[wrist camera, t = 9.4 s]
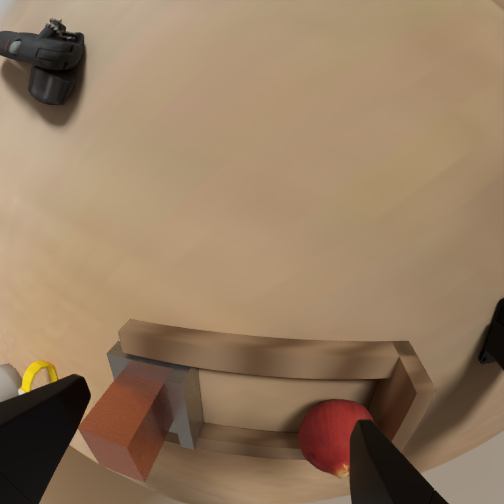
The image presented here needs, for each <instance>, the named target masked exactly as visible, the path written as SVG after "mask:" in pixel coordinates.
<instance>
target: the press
mask: <svg viewBox="0 0 504 504" xmlns="http://www.w3.org/2000/svg"><path fill="white" fill-rule="evenodd" d="M107 356H108V360H109V363H110V367H111V370H112V373H113V377H114V382H113V383H112V384H111V385H110V387H109V388H108V389H107V390H106V392H105V393H104V394H103V396H102V397H101V398H100V399H99V401H98V402H97V403H96V405H95V406H94V407H93V408H92V410H91V411H90V412H89V414H88V415H87V416H86V417H85V419H84V420H83V421H82V423H81V424H80V425H79V427H78V429H79V431H80V433H81V434H82V436H83V438H84V440H85V441H86V443H87V445H88V446H89V448H90V450H91V451H92V453H93V454H94V456H95V457H96V459H97V461H98V462H99V464H100V465H102V466H104V467H107V468H109V469H111V470H114V471H116V472H119V473H121V474H124V475H127V476H129V477H132V478H135V479H138V480H140V481H143V482H145V481H146V478H147V476H148V474H149V472H150V470H151V468H152V466H153V464H154V461H155V459H156V457H157V455H158V453H159V451H160V449H161V447H162V444H163V442H164V440H165V438H166V436H167V434H168V432H173V433H177V434H178V437H179V441H180V445H181V447H183V448H187V449H192V450H194V449H195V446H196V444H197V441H198V438H199V435H200V432H201V430H202V427H203V424H204V420H203V413H202V405H201V396H200V387H199V378H198V368H197V367H192V366H186V365H180V364H174V363H169V362H164V361H159V360H154V359H150V358H145V357H140V356H136V355H132V354H128V353H123V351H122V347H121V342H120V341H118V342H117V343H116V344H115V345H114V346H113V347H112V348H111V349H110V350H109V352H108V353H107Z"/></svg>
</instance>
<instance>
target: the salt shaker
mask: <svg viewBox="0 0 504 504" xmlns="http://www.w3.org/2000/svg"><path fill="white" fill-rule="evenodd" d="M20 387H22V378H21V376H20V375H19V373H18V372H17V370H16V369H15V368H14V367H12V366H11V365H10V364H3V365H0V402H2V401H5V400H7V399H10V398H13V397H16V396H18V395H19V393H18V389H19V388H20Z"/></svg>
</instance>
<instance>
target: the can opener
mask: <svg viewBox="0 0 504 504" xmlns="http://www.w3.org/2000/svg"><path fill="white" fill-rule="evenodd" d="M61 21H62V19H60V20H59V21H58V20H56V19H53V18H51V19H50V22H51V24H46V25H45V28H44V29H43V30H42V31H41V33H40V34H39V35H38V34H33V33H17V32H11V31H1V32H0V55H1V56H4V57H7V58H10V59H14V60H18V61H23V62H27V63H30V64H33V65H36V66H33V67H32V70H31V75H30V81H29V88H28V90H29V92H30V94H31V95H32V96H33V97H34V98H35V99H36V100H38V101H40V102H42V103H45V104H48V105H63V104H64V103H65V101H66V100H67V98H68V95H69V94H70V92H71V89H72V88H73V85H74V83H75V81H76V79H75V77H74V76H73V75H72V74H71V73H69V72H68V71H65V69H71V68H73V67H74V66H75V65H76V64H77V63H78V61H79V60H80V58H81V55H82V52H83V48H84V35H83V34H82V33H80V32H78V33H72V32H66V31H65V30H66V27H65V26H64V25H63V24H62V22H61ZM63 69H64V70H63Z"/></svg>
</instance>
